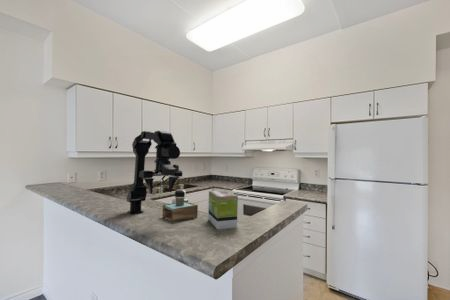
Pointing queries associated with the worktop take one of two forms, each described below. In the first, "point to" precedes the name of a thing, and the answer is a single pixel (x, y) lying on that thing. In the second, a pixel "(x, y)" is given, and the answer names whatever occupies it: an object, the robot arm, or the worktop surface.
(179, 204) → the cover plate
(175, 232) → the worktop surface
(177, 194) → the medicine bottle
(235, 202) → the tea box
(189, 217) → the box
